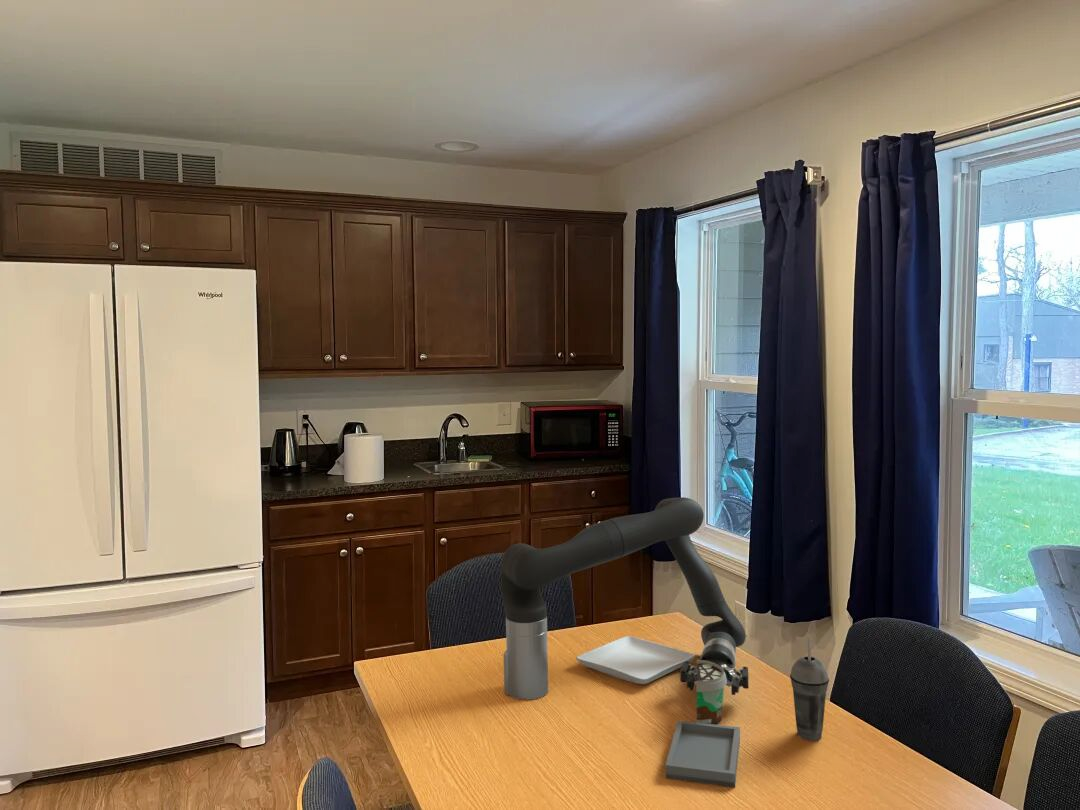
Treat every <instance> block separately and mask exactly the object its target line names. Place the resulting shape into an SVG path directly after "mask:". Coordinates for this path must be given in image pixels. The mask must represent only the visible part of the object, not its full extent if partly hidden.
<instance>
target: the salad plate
mask: <svg viewBox="0 0 1080 810" xmlns="http://www.w3.org/2000/svg"><path fill="white" fill-rule="evenodd" d="M695 658H696V655H695V653H691V652H688V651H685V650H682V649H678V648H675V647H671V646H668V645H665V644H662V643H658V642H654V641H651V640H648V639H647V640H646V639H642V638H640V637H635V636H631V635H627V636H623V637H621V638H619V639H616V640H613V641H610V642H609V643H606V644H603V645H601V646H598V647H596V648H593V649H591V650H590V651H586V652H584V653H581V654H579V655H578V656H576V660H577V662H579V663H580V664H582V665H583V666H585V667H587V668H590V669H593V670H596V671H597V672H599V673H602V674H604V675H605V674H606V675H608V676H612V677H614V678H617V679H621V680H624V681H627V682H628V683H629V682H630V683H632V682H633V683H632V684H638V685H645V684H649V683H651V682H653V681H655V680H657V679H659V678H661V677H663V676H665V675H667V674H669V673H671V672H673V671H675V670H676V671H677V670H678V669H681V668H682V666H683V664H684V662H685V661H688V662H690V663H691V662H692V661H693V660H694V659H695Z"/></svg>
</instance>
